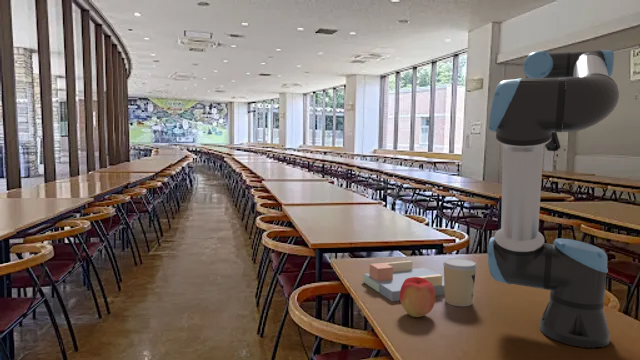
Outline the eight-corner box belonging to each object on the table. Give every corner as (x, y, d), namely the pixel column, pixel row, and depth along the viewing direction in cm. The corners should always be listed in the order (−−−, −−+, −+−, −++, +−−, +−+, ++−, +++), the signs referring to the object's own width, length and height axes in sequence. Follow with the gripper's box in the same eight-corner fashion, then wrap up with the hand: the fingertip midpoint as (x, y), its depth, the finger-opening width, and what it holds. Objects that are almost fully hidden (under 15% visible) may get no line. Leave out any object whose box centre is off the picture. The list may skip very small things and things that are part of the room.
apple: (392, 310, 124) (393, 275, 123) (421, 307, 127) (423, 273, 126) (411, 324, 115) (412, 287, 114) (441, 320, 118) (443, 283, 117)
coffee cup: (480, 307, 127) (481, 266, 126) (447, 307, 127) (449, 266, 126) (468, 296, 137) (469, 258, 136) (438, 296, 136) (439, 258, 135)
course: (458, 292, 140) (459, 274, 139) (391, 301, 131) (392, 281, 130) (424, 275, 156) (425, 259, 156) (363, 282, 147) (363, 264, 147)
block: (392, 279, 142) (393, 267, 141) (377, 281, 140) (378, 268, 139) (384, 274, 147) (384, 262, 146) (369, 275, 145) (369, 263, 144)
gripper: (555, 106, 147) (550, 170, 149) (497, 102, 138) (492, 170, 140) (576, 104, 140) (570, 171, 142) (515, 100, 131) (511, 172, 133)
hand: (532, 171), depth 141 cm, fingers open, 13 cm apart
